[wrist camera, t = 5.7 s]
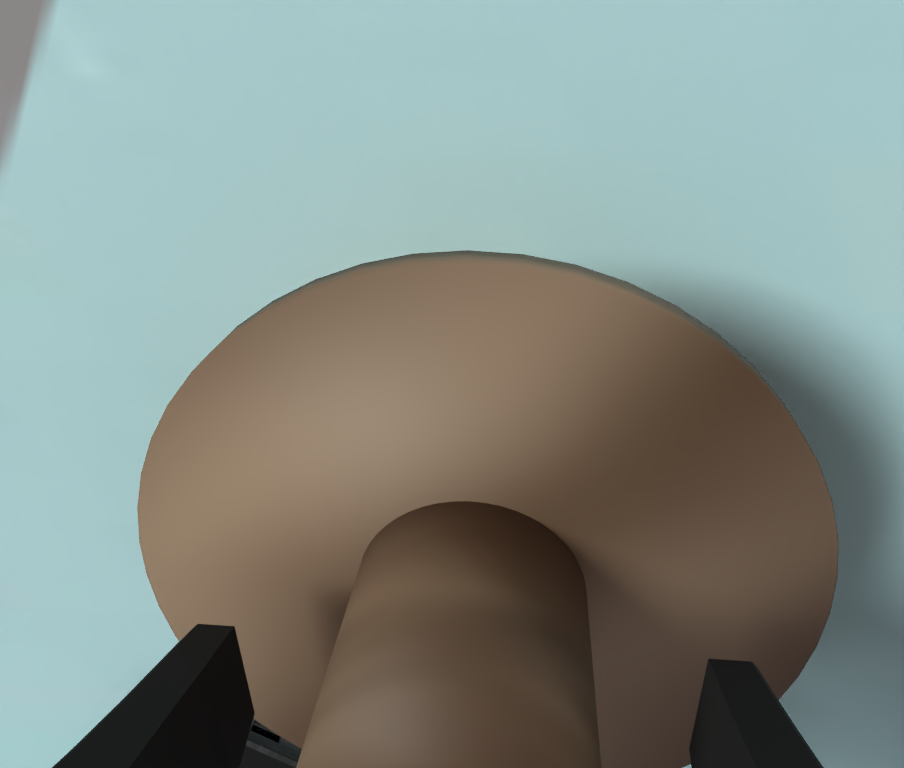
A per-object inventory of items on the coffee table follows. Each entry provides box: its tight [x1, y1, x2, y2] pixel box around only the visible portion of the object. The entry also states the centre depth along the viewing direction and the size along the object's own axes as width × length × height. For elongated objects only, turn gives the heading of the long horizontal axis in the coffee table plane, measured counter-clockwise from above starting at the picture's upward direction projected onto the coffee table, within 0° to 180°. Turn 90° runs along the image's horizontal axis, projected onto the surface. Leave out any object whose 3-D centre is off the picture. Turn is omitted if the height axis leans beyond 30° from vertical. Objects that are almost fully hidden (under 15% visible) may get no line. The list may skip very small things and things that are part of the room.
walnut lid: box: [138, 251, 838, 768], centre depth 11 cm, size 12×12×5 cm
